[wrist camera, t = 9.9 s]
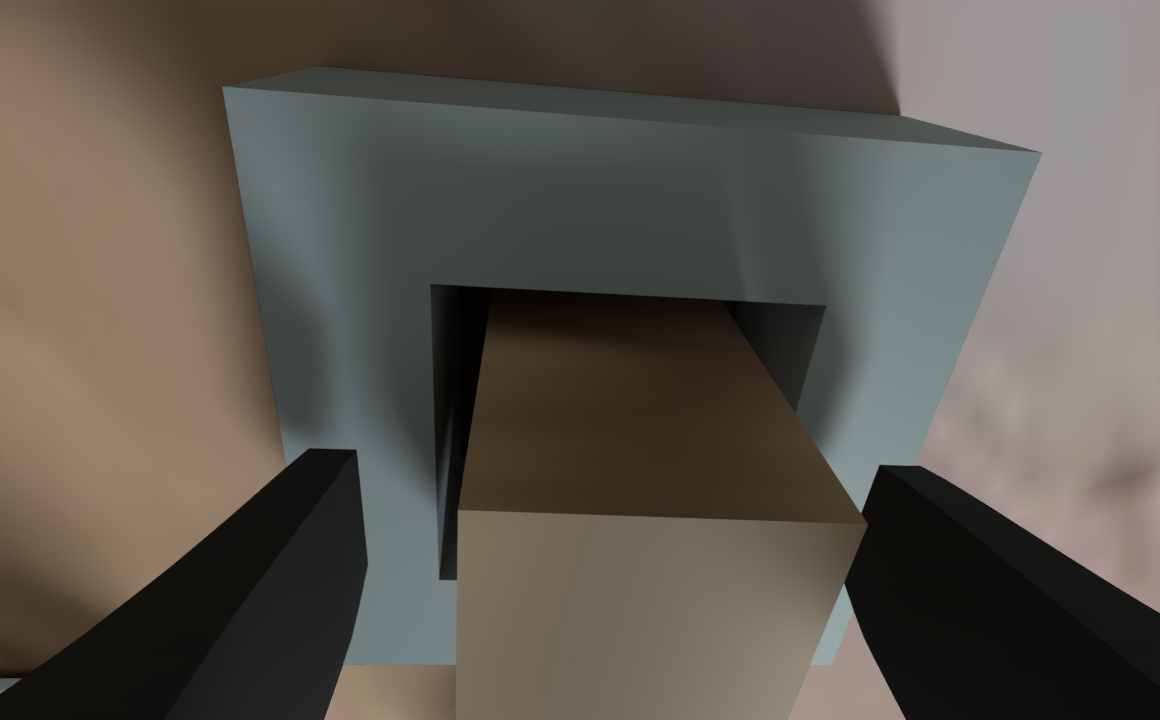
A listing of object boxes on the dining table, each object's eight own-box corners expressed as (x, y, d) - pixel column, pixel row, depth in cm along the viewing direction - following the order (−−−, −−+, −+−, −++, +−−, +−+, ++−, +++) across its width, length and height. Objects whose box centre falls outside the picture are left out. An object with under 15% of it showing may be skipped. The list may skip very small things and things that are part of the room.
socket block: (364, 531, 15) (319, 664, 12) (316, 65, 10) (222, 86, 7) (774, 539, 16) (831, 664, 13) (902, 116, 11) (1041, 152, 8)
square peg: (490, 432, 14) (454, 761, 8) (497, 258, 12) (457, 510, 6) (669, 440, 14) (770, 760, 8) (703, 273, 12) (867, 523, 6)
